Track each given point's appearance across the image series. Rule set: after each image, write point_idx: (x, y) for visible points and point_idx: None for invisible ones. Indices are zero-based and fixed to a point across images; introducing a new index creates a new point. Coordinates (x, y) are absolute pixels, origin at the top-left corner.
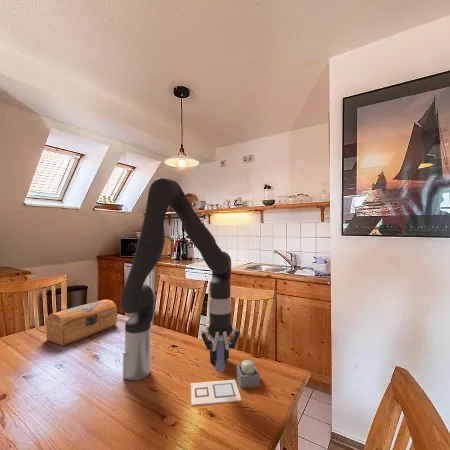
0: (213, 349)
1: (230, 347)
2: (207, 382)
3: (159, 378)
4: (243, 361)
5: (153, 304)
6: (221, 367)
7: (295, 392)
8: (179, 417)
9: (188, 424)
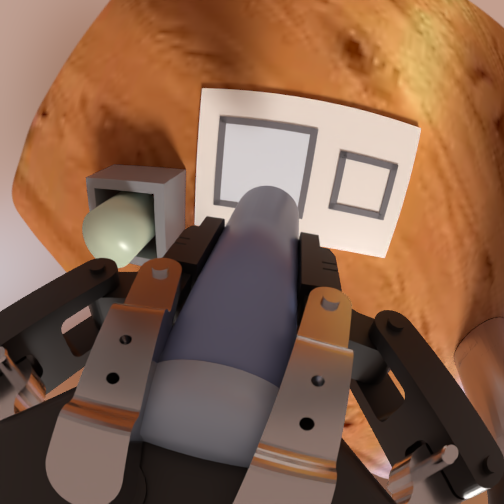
0: (337, 300)
1: (128, 278)
2: (319, 241)
3: (454, 313)
4: (124, 261)
5: None
6: (263, 195)
7: (37, 121)
8: (463, 92)
9: (440, 46)
